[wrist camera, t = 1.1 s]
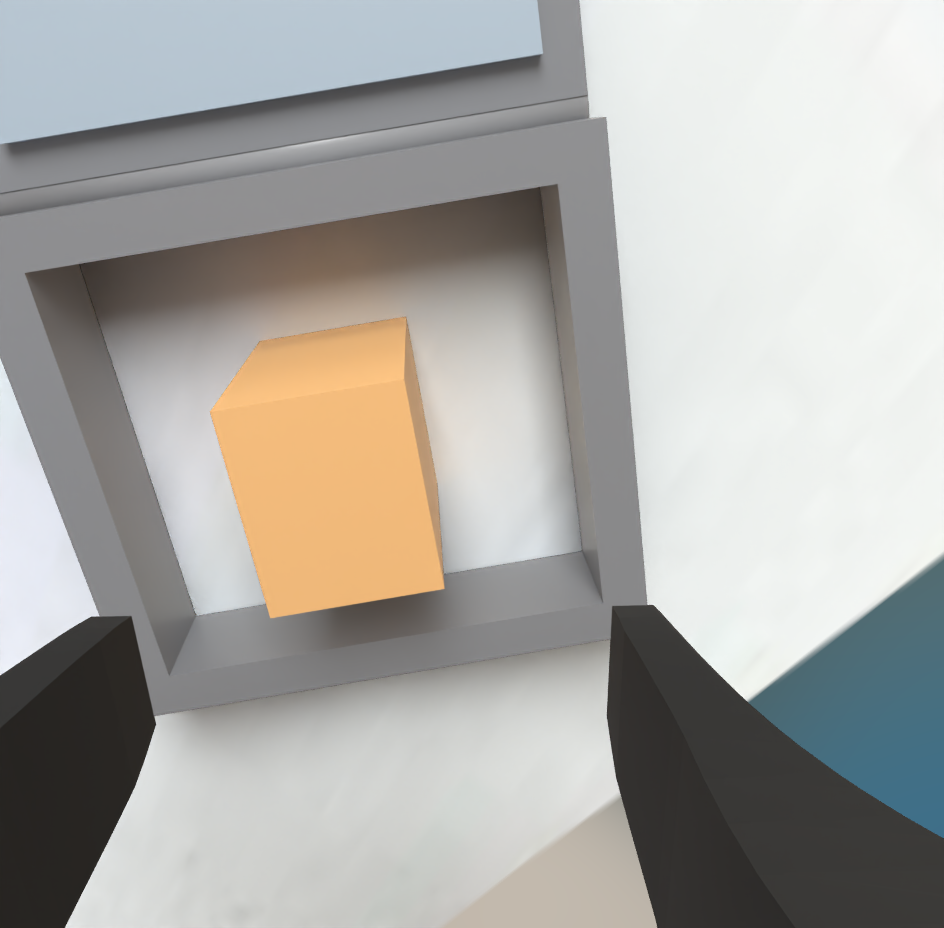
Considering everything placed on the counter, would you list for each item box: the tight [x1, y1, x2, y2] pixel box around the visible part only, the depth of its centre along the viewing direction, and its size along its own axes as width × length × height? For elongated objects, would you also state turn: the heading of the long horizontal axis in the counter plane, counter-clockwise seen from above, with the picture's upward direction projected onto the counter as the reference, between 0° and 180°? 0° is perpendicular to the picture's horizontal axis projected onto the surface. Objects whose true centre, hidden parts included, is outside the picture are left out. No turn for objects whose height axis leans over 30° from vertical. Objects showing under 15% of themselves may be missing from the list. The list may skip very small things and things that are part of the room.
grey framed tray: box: [0, 0, 647, 716], centre depth 19 cm, size 14×28×3 cm, turn 9°
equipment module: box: [210, 317, 445, 618], centre depth 21 cm, size 4×5×6 cm
